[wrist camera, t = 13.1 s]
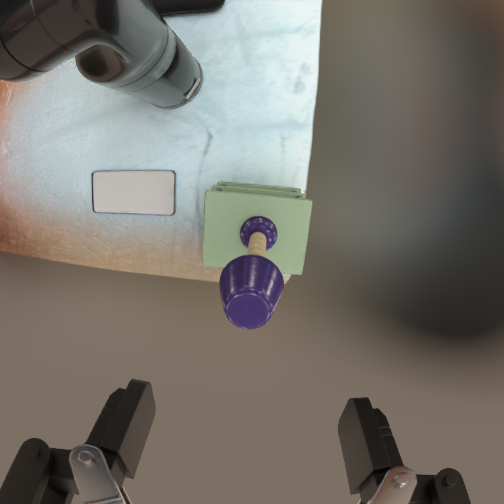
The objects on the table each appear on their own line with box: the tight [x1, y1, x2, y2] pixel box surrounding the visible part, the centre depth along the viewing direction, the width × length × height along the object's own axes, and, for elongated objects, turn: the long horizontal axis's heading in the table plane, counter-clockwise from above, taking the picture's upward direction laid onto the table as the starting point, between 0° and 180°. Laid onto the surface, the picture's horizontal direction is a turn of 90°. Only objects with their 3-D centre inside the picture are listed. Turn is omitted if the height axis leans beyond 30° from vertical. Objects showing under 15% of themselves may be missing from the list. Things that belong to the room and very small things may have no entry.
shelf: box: [202, 182, 312, 275], centre depth 38 cm, size 12×9×11 cm
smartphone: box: [92, 170, 176, 216], centre depth 42 cm, size 7×1×15 cm
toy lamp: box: [219, 216, 284, 329], centre depth 25 cm, size 5×5×17 cm
